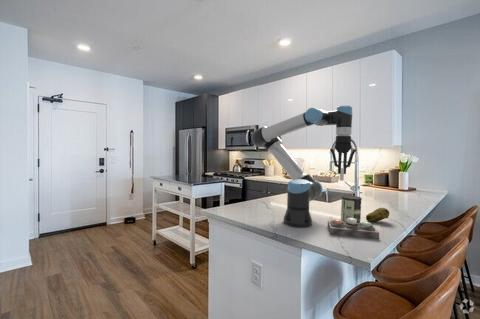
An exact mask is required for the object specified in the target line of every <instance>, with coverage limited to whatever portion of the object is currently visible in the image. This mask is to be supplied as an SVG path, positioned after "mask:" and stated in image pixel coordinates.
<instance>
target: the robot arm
mask: <svg viewBox="0 0 480 319" xmlns="http://www.w3.org/2000/svg"><path fill="white" fill-rule="evenodd" d="M352 123H353V107H352V106H350V105H340V106H339V105H338V106H337V108H336V110H332V111H331V110H329V111H328V110H327V111H326V110H323V109H320V108H319V107H310V108H308V109H307V110H306V111H305V112H302V113H300V114H298V115H295V116H292V117H290V118H287V119H284V120H282V121H279V122H277V123H274V124H272V125H270V126H262V127H260V128H257V129H255V130H254V131H253V132H252V135H251V141H252V144H253V145H254V146H255V147H257V148H264V150H266V152H267V153H268V154H271V155H272V156H273V157H274V159H276V161H277V162H278V163H279V164H278V165H280V166H281V167H282V169H283V170H284V171H285V172H286V174H287V175H288V177H289V178H290V179H291V180H290V181H288V183H287V199H286V200H287V201H286V202H287V203H286V210H285V213H284V216H283V222H282V223H284V225H286V226H289V227H292V228H299V229H300V228H303V229H304V228H310V227H312V225H313V220H312V216H311V213H310V212H311V211H310V202H311V201H316V200H318V198H320V197H321V196H322V194H323V186H322V184H321V182H320V181H319V180H317V179H314V178H313V177H312V176H311V175H310V173H305V171H304V170H303V169H302V167H301V166H300V165H299V164H298V162H297V161H296V160H295V159H294V158H293V156H292V155H291V154H290V153H289V152H288V151H287V149H286V148H285V147H284V145H283V144H284V143H283V141H282V136H285V135H287V134H290V133H292V132H295V131H299V130H301V129H305V128H307V127H311V126H313V125H315V126H317V127H319V126H321V127H323V126H336V127H335V144H334V146H333V147H331V148H330V149H329V151H330V153H331V155H332V160H333V164H334V167H336V168H337V174H339V180H340V181H341V182H342V181H344V177H345V175H346V174H347V169H348V168H350V167H351V164H352V161H353V158H354V154H355V153H356V152H357V149H356V148H354V147H353V146H352V136H351V135H352V128H353V127H352V126H353V124H352ZM335 152H337V153H338V156H337V157H336V153H335ZM349 152H350V154H349V157H348V153H349ZM342 155H343V156H342ZM342 157H343V163H342ZM347 158H348V159H347ZM337 159H338V160H337ZM347 160H348V161H347Z"/></svg>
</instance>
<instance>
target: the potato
mask: <svg viewBox="0 0 480 319" xmlns="http://www.w3.org/2000/svg"><path fill="white" fill-rule="evenodd" d="M389 216H390V211H389V210H388V208H386V207H378V208H377V209H375V210H373V211H371V212H369V213H368V214H366V216H365V220H366V222H369V223H373V222H375V223H376V222H380V221H382V220H385V219H389Z"/></svg>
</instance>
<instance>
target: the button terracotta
mask: <svg viewBox="0 0 480 319" xmlns="http://www.w3.org/2000/svg"><path fill="white" fill-rule="evenodd" d="M333 224H342V220H341V219H337V218H334V219H333Z"/></svg>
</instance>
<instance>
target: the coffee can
mask: <svg viewBox="0 0 480 319" xmlns="http://www.w3.org/2000/svg"><path fill="white" fill-rule="evenodd" d="M362 200H363V199H362V197H361V196H356V195H346V194H345V195H341V210H340V211H341V212H340V213H341V214H340V220H342V221H343V222H347V218H355V219H357V223H361V219H362V218H361V215H362V214H361V213H362Z"/></svg>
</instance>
